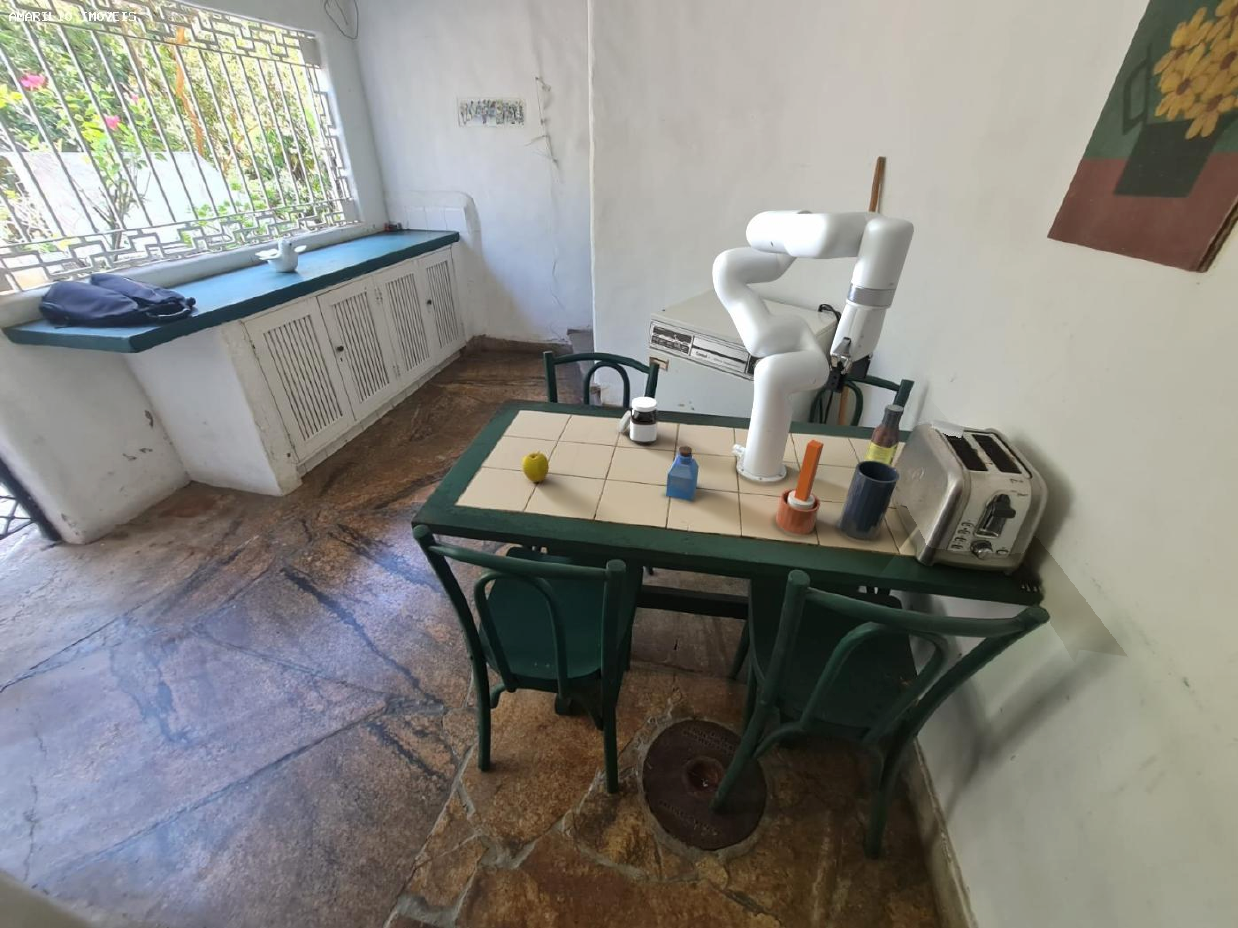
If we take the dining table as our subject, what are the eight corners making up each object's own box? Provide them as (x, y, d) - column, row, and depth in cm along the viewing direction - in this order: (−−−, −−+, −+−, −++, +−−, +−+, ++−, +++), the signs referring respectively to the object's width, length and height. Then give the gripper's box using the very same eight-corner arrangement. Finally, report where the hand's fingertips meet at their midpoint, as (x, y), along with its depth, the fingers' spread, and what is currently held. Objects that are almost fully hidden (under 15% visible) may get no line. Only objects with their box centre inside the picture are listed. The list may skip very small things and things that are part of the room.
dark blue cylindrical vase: (831, 530, 113) (849, 471, 105) (846, 514, 118) (865, 456, 110) (867, 548, 109) (890, 487, 100) (882, 531, 114) (905, 471, 105)
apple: (554, 476, 130) (552, 449, 126) (540, 489, 125) (538, 461, 121) (533, 469, 132) (530, 443, 128) (518, 482, 127) (515, 455, 123)
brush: (778, 522, 114) (796, 443, 103) (790, 511, 118) (809, 434, 107) (800, 533, 111) (822, 453, 100) (812, 522, 114) (834, 443, 103)
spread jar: (657, 447, 143) (659, 410, 136) (616, 447, 143) (617, 409, 136) (655, 427, 153) (657, 391, 146) (617, 426, 153) (617, 390, 146)
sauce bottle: (888, 486, 128) (914, 415, 118) (862, 483, 129) (885, 413, 119) (882, 472, 134) (906, 403, 123) (857, 469, 135) (879, 401, 124)
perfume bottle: (696, 486, 127) (701, 445, 120) (691, 501, 122) (695, 458, 115) (672, 482, 129) (675, 440, 122) (665, 495, 124) (669, 453, 117)
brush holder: (768, 524, 115) (774, 499, 111) (786, 508, 120) (792, 484, 116) (802, 541, 110) (809, 516, 106) (819, 524, 115) (826, 499, 111)
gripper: (871, 283, 98) (847, 367, 108) (827, 299, 88) (805, 390, 97) (911, 291, 94) (883, 378, 103) (869, 309, 84) (843, 403, 93)
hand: (845, 383), depth 100 cm, fingers open, 9 cm apart
